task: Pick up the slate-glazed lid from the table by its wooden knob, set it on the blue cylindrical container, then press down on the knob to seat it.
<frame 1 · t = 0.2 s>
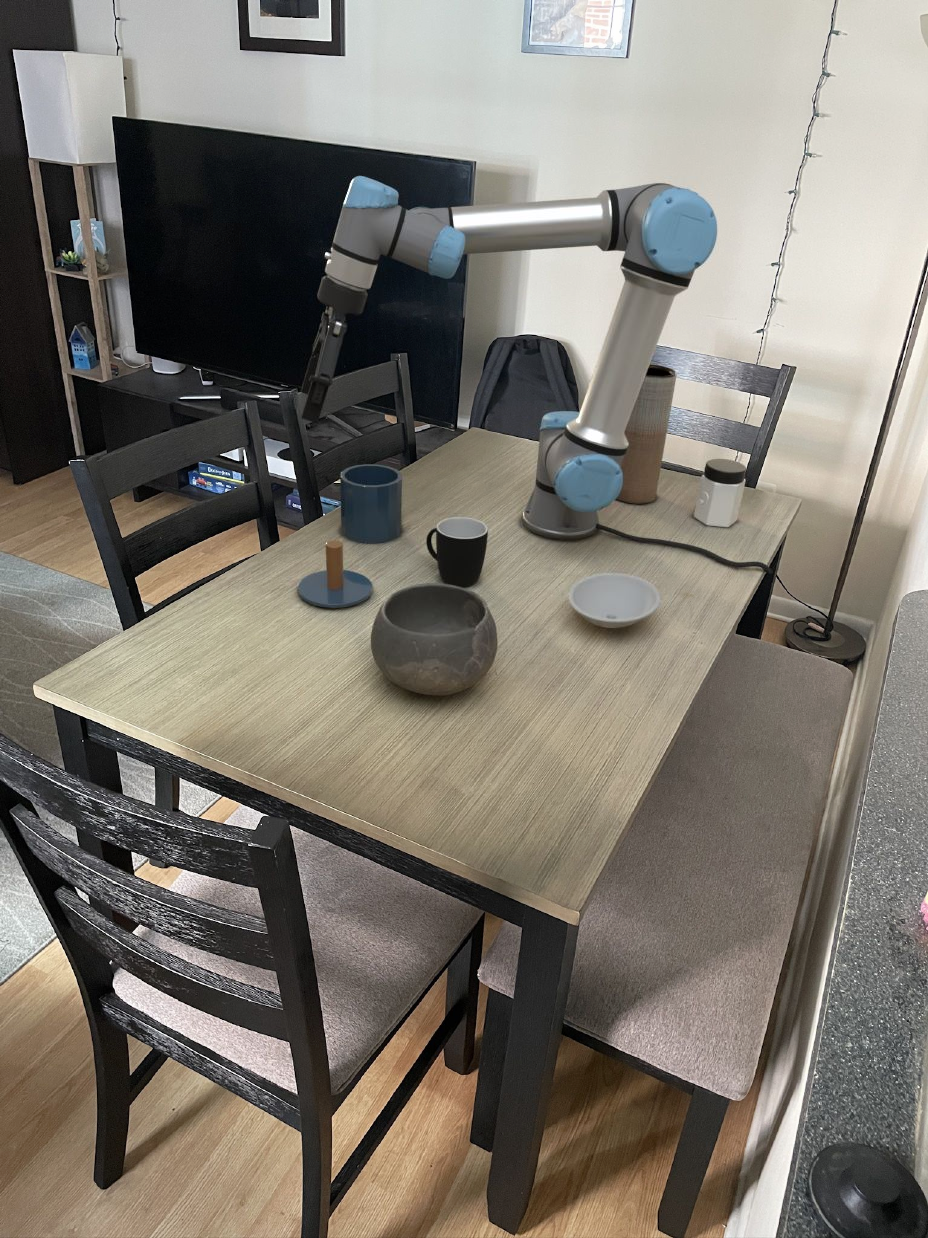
hand: (308, 406, 151), 28 cm above the table, tool tilted 20°, fingers open, 13 cm apart
lid: (335, 589, 152), point 1 cm above the table
jar: (714, 520, 188), on the table
mug: (452, 577, 160), on the table
blue cylindrical container: (371, 530, 175), on the table
vase: (632, 496, 197), on the table
bowl: (432, 682, 131), on the table
dish: (610, 623, 149), on the table
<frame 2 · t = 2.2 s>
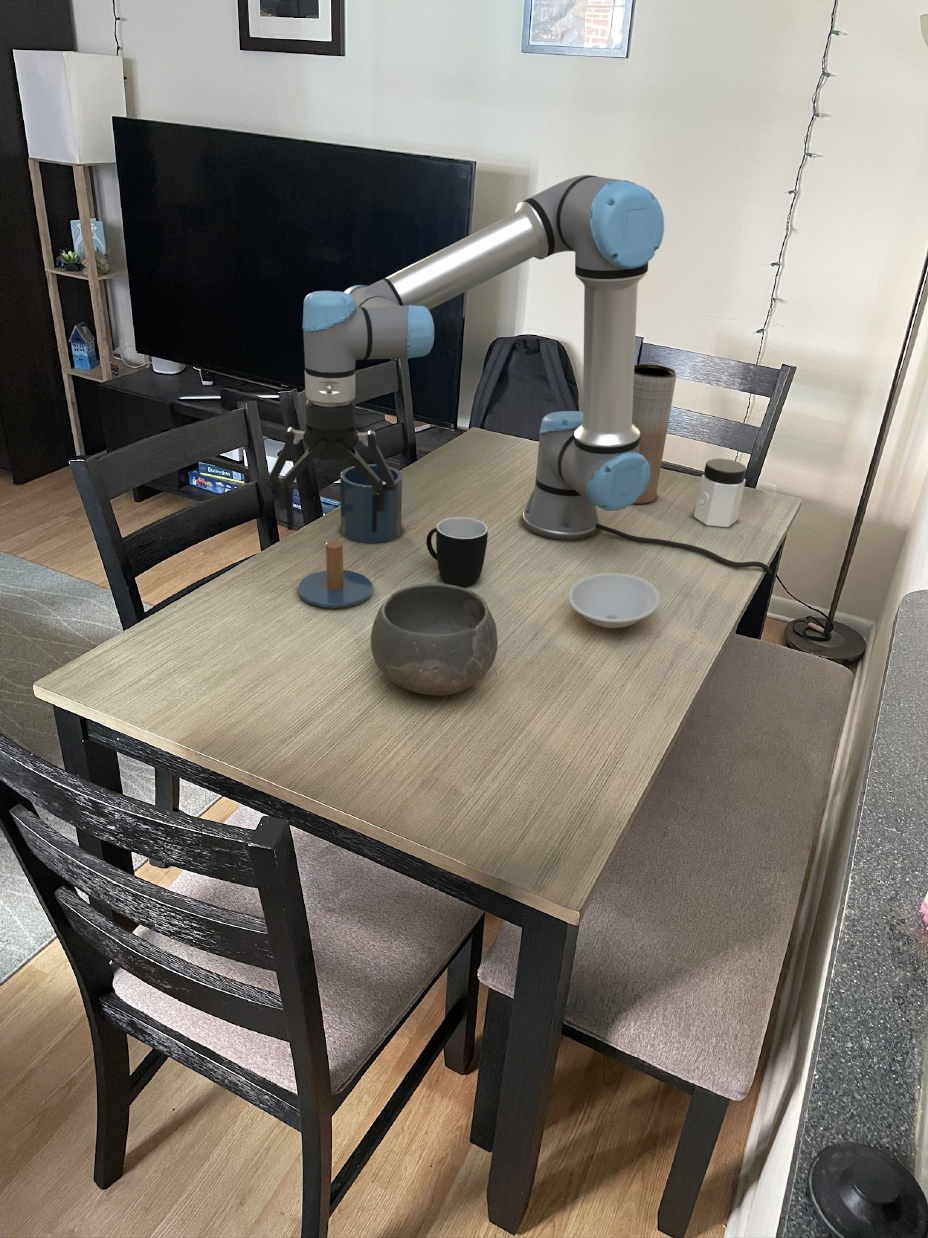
hand: (332, 527, 146), 12 cm above the table, tool pointing down, fingers open, 13 cm apart
nothing on the table moved.
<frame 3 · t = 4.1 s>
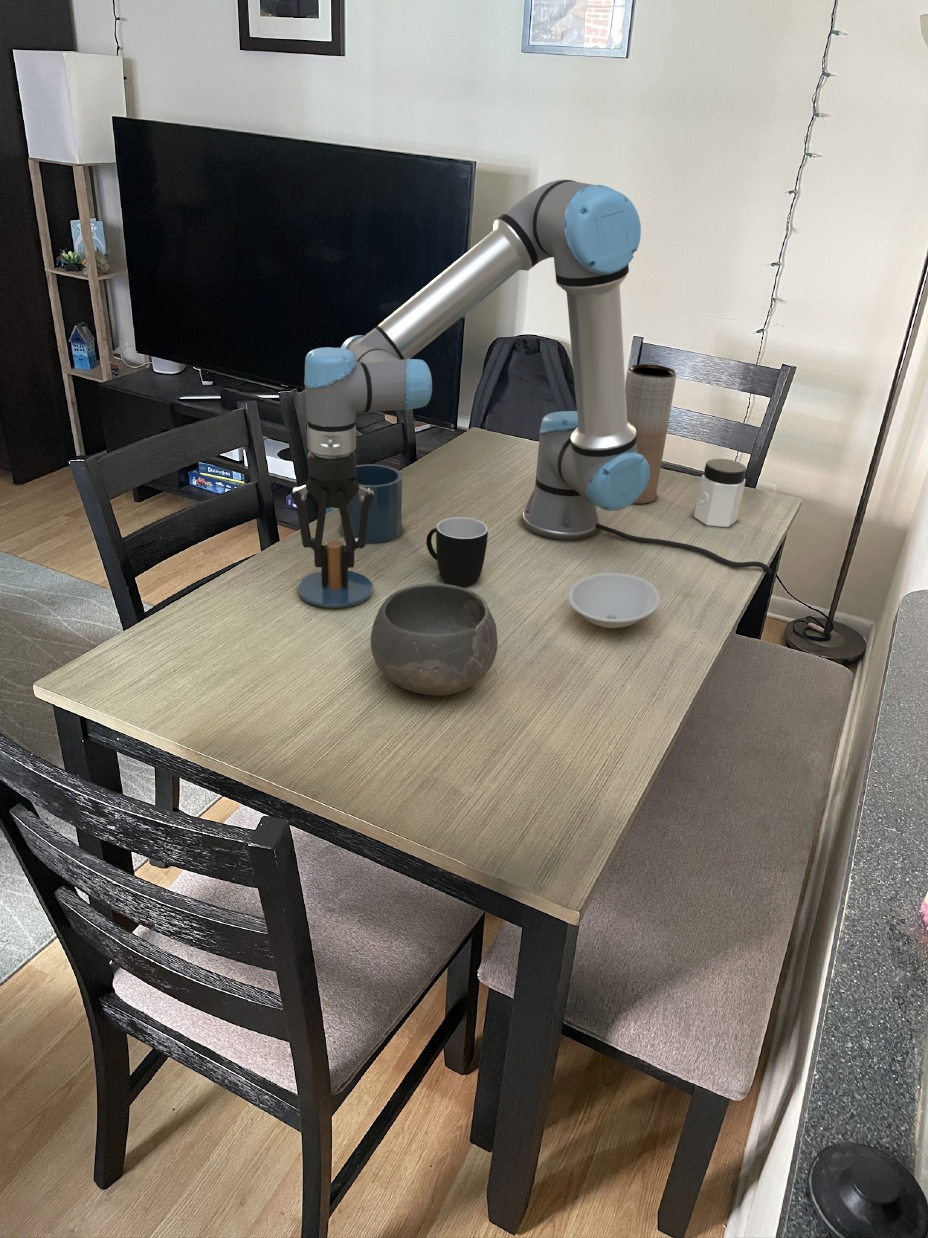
hand: (335, 583, 152), 2 cm above the table, tool pointing down, fingers closed on lid, 3 cm apart
lid: (335, 589, 152), point 1 cm above the table, touching gripper
everything else where it was.
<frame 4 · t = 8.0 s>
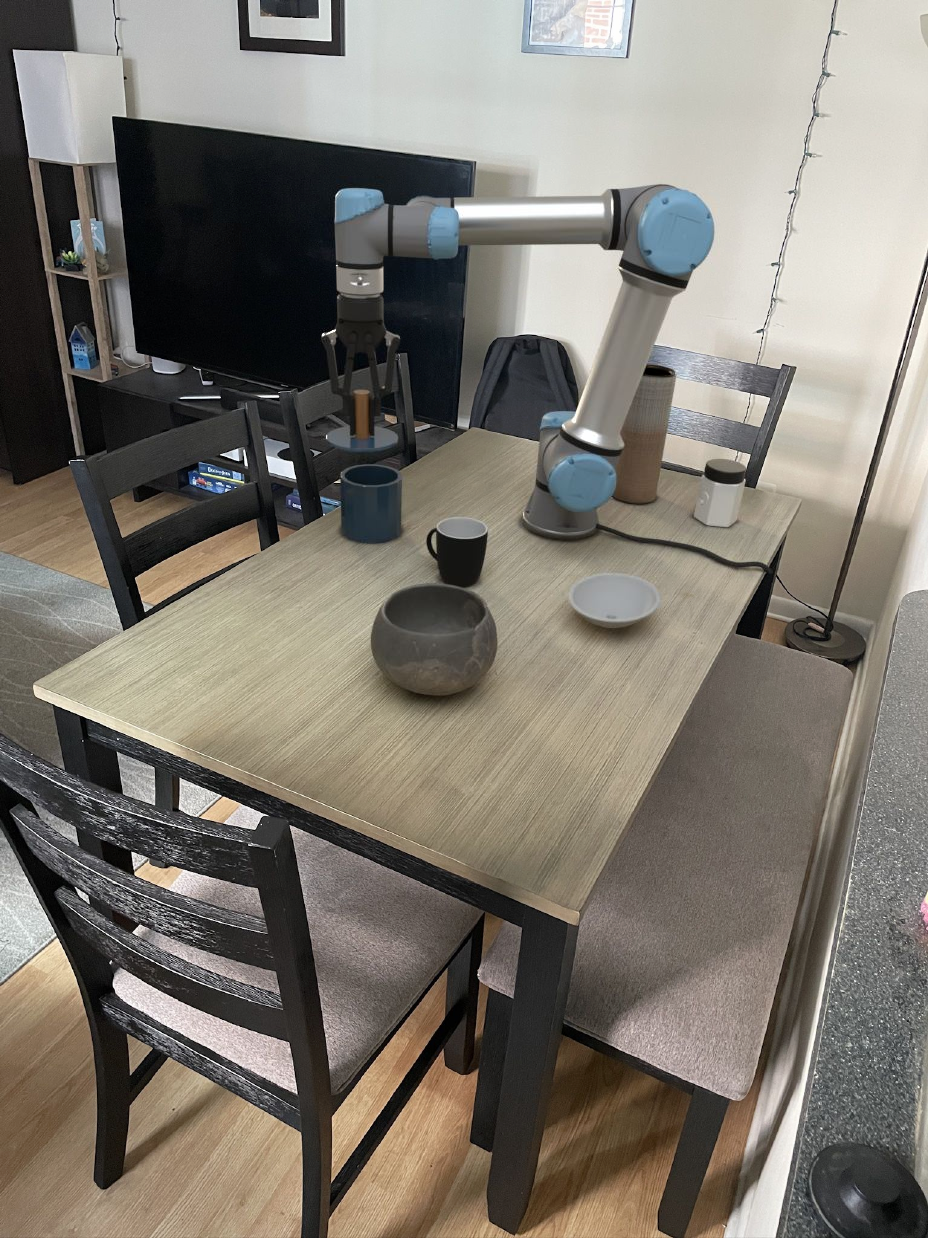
hand: (362, 433, 157), 22 cm above the table, tool pointing down, fingers closed on lid, 3 cm apart
lid: (362, 439, 158), point 21 cm above the table, touching gripper
everything else where it was.
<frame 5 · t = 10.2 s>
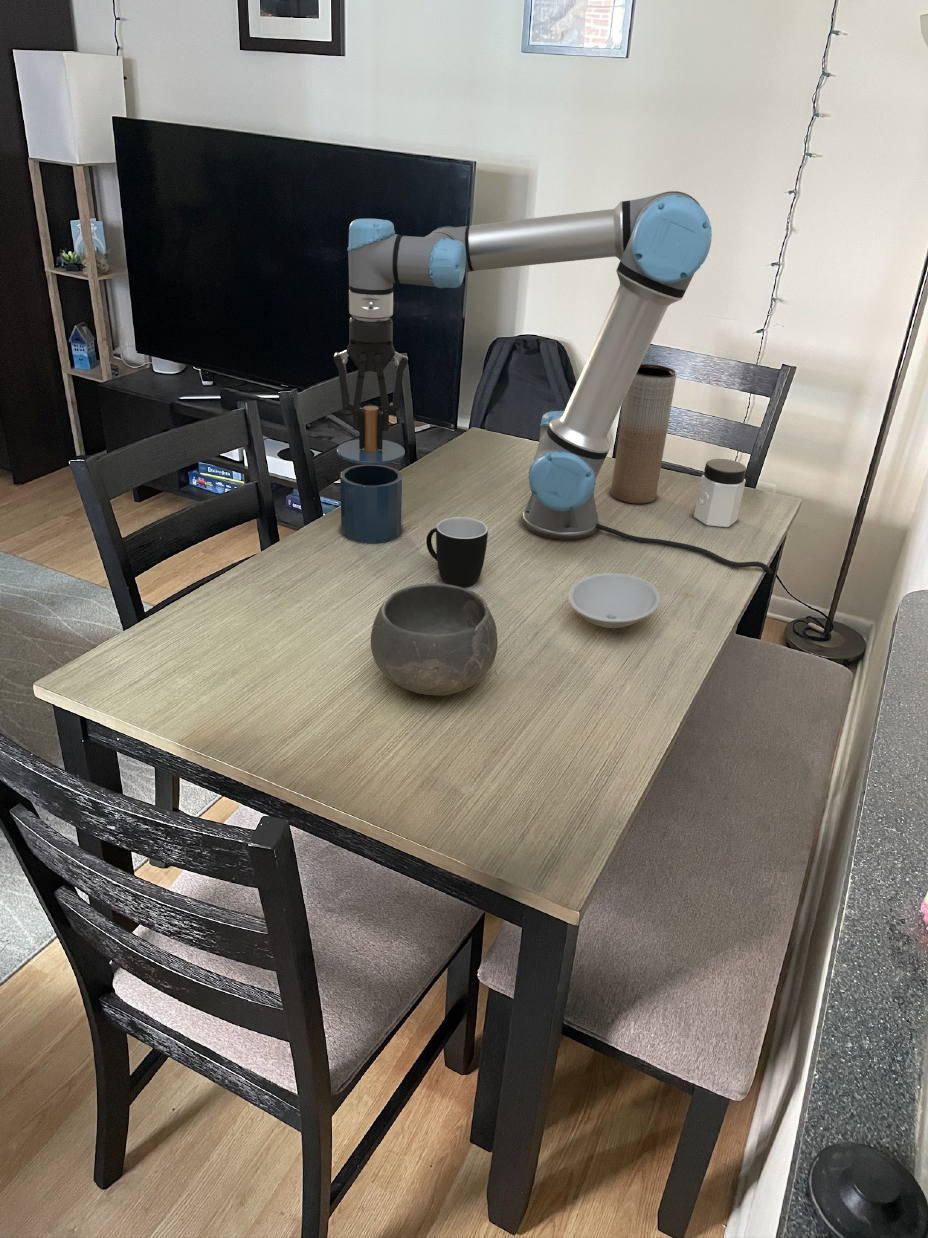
hand: (370, 446, 166), 17 cm above the table, tool pointing down, fingers closed on lid, 3 cm apart
lid: (370, 452, 167), point 16 cm above the table, touching gripper
everything else where it was.
when the fingers open (13 cm above the table, at t = 11.7 s): lid stays where it is, resting on blue cylindrical container.
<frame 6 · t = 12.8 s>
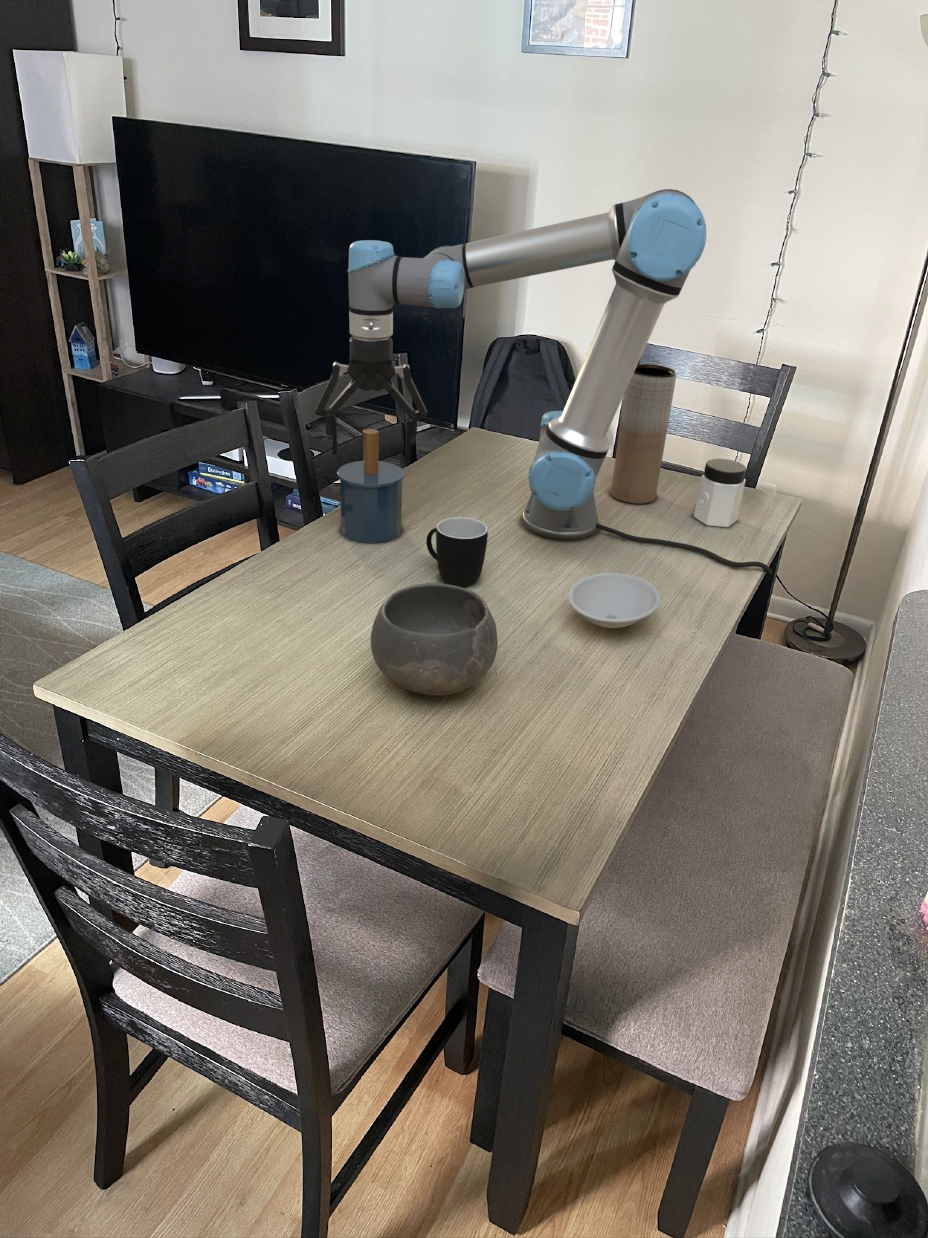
hand: (371, 452, 167), 16 cm above the table, tool pointing down, fingers open, 13 cm apart
lid: (371, 475, 169), point 11 cm above the table, touching blue cylindrical container
everything else where it was.
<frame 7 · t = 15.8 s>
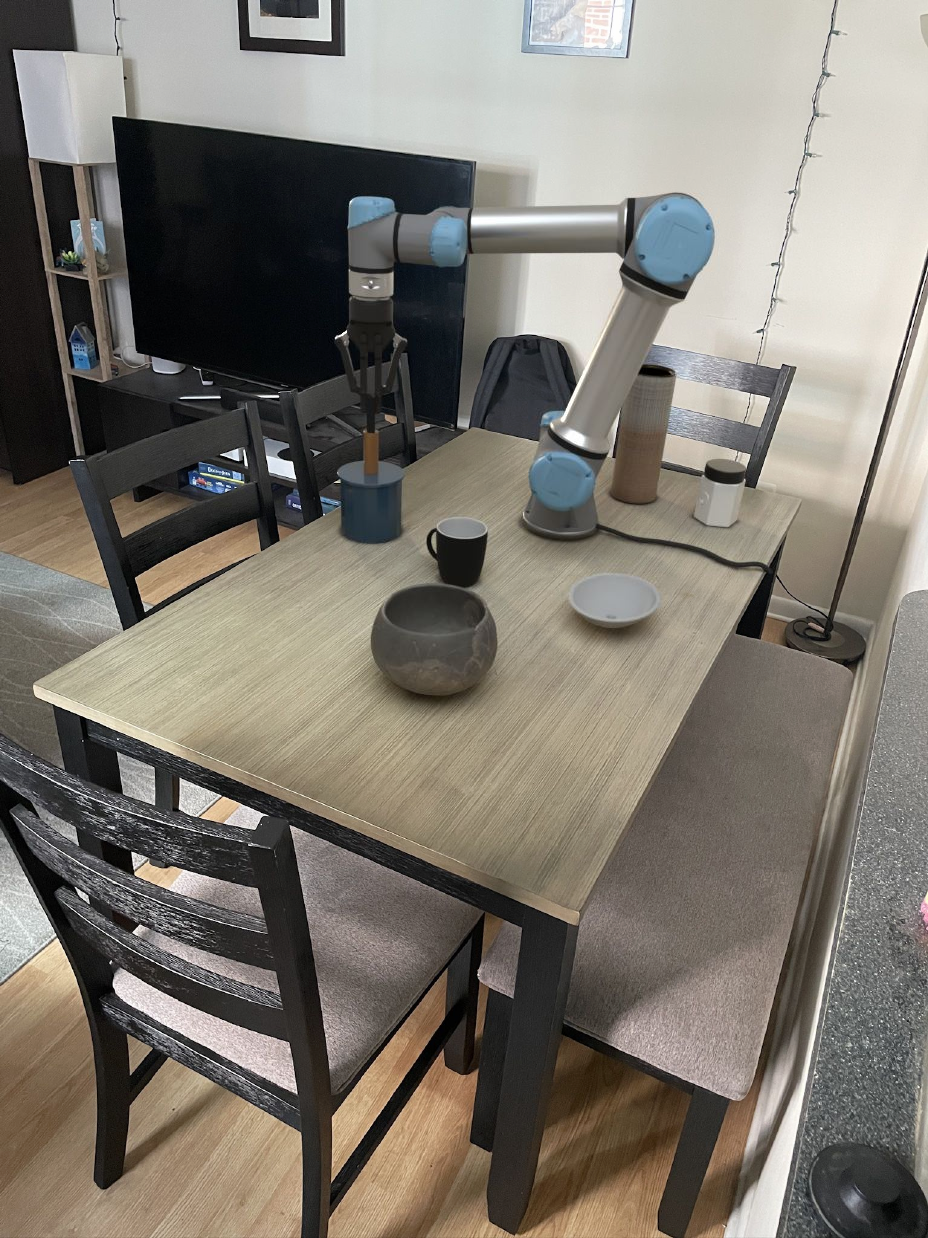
hand: (370, 429, 165), 20 cm above the table, tool pointing down, fingers closed
lid: (371, 475, 169), point 11 cm above the table, touching blue cylindrical container, gripper
everything else where it was.
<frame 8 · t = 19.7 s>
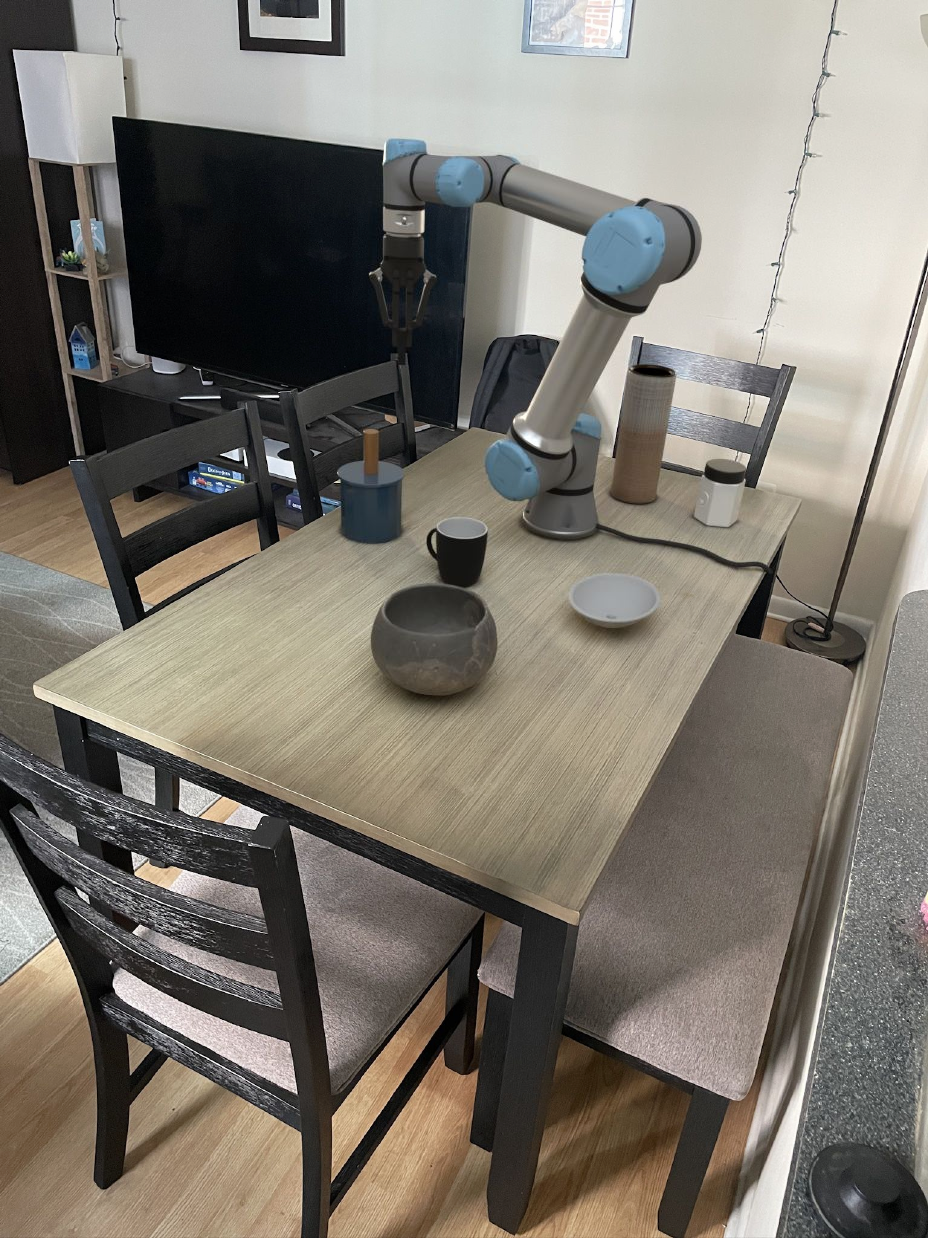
hand: (401, 363, 176), 28 cm above the table, tool pointing down, fingers closed
lid: (371, 475, 169), point 11 cm above the table, touching blue cylindrical container
everything else where it was.
at the end: lid 0.1 cm off-centre on the blue cylindrical container, point 11.5 cm above the blue cylindrical container's base; lid tilted 0°; the gripper is holding nothing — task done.
